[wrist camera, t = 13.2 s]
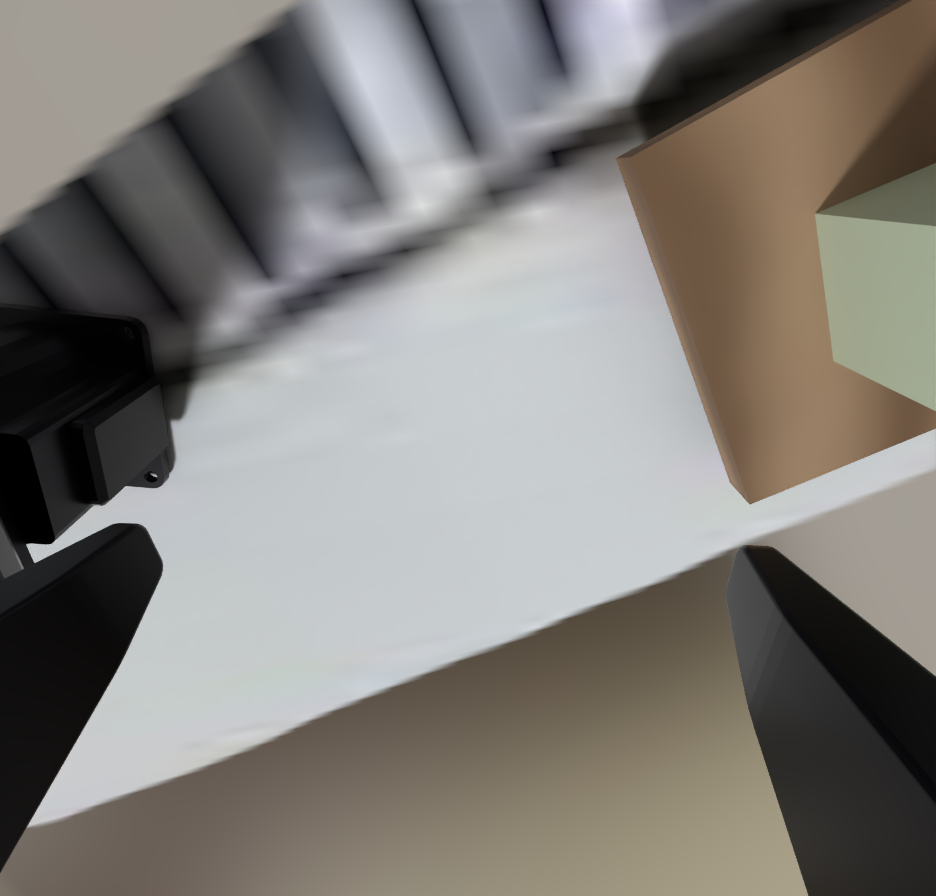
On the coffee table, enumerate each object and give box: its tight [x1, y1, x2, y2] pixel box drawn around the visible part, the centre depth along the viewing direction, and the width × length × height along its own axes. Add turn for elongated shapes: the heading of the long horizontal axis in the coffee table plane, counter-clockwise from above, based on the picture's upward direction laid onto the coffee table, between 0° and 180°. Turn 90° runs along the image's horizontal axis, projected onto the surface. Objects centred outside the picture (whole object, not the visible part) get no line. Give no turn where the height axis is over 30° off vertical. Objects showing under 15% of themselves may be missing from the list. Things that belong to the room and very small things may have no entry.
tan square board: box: [616, 0, 936, 504], centre depth 17 cm, size 12×12×3 cm
